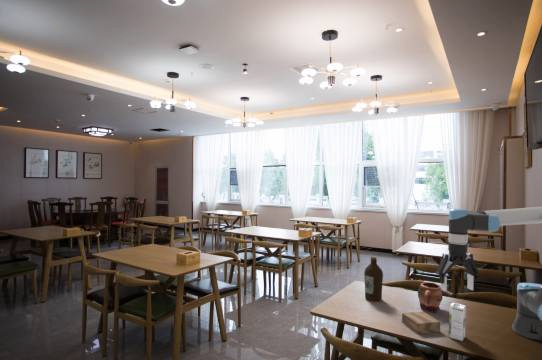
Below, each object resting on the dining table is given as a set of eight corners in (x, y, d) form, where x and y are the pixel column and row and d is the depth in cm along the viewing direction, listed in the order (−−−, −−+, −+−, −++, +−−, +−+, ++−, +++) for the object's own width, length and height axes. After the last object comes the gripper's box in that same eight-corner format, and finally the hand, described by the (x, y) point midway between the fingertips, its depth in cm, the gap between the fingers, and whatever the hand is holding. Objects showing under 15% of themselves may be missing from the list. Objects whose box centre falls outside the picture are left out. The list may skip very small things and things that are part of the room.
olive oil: (373, 294, 200) (373, 254, 200) (386, 300, 191) (387, 258, 191) (360, 297, 195) (360, 256, 195) (373, 303, 186) (373, 260, 186)
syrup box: (451, 333, 150) (451, 301, 150) (465, 337, 147) (466, 305, 147) (448, 337, 146) (448, 305, 146) (463, 341, 142) (463, 308, 142)
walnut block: (423, 321, 163) (423, 311, 163) (440, 332, 152) (440, 321, 152) (402, 323, 161) (402, 313, 161) (417, 334, 149) (417, 323, 149)
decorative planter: (440, 319, 165) (440, 292, 165) (414, 313, 172) (415, 287, 172) (443, 306, 182) (444, 282, 182) (420, 302, 189) (420, 278, 189)
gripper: (475, 241, 152) (474, 286, 152) (427, 241, 148) (426, 288, 148) (488, 244, 145) (487, 291, 145) (438, 245, 141) (438, 293, 140)
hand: (457, 289), depth 146 cm, fingers open, 13 cm apart
